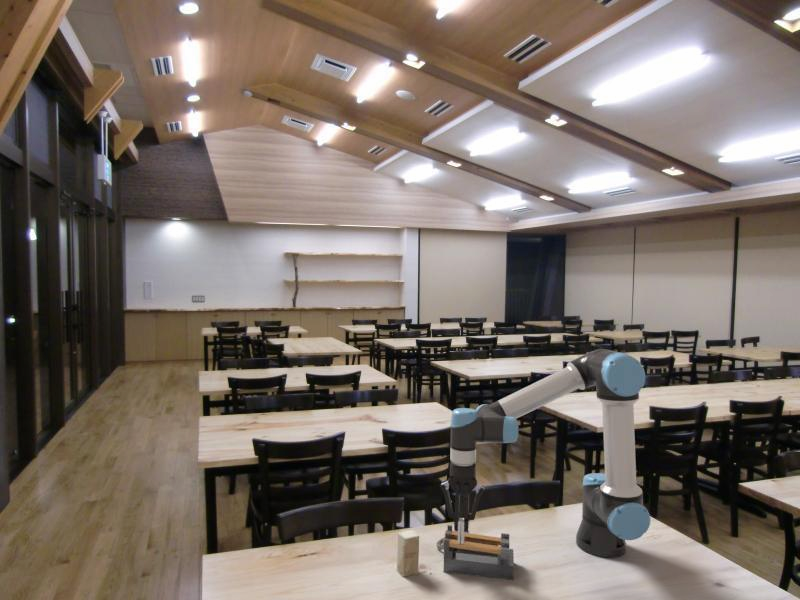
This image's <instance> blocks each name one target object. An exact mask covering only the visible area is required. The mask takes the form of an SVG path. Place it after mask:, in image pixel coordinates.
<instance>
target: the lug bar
mask: <svg viewBox="0 0 800 600" xmlns="http://www.w3.org/2000/svg"><path fill="white" fill-rule="evenodd" d="M452 525H453V524H452ZM452 525H451V524H447V529H446V530H449V531H446V530H445V532H446V538H447V539H444V549H443V559H444V558H446V559H452V557H453V552H454V548H453V547H449V539H452V538H451V531H452ZM453 540H455V539H453Z"/></svg>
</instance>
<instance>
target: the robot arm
mask: <svg viewBox="0 0 800 600" xmlns="http://www.w3.org/2000/svg"><path fill="white" fill-rule="evenodd" d="M645 372H646V371H645V369H644V367H643V365H642V363H640V361H639V360H638V359H636V358H635V357H633V356H632V355H629V354H627V353H624V352H619V351H616V350H615V351H614V350H611V349H607V348H600V349H595V350H591V351H590V352H588V353H585V354H582V355H580V356H579V357H577V358H575V359H573V360H570V361H569V362H568V363H567V364H566V367H564V368H562V369H559V370H558V371H555V372H554V373H552V374H550V375H548V376H544V378H542V379H539V380H537V381H536V382H533V383H531V384H530V385H527V386H525V387H523V388H521V389H519V390H517V391H515V392H513V393H511V394H509V395H506V396H505V397H503V398H500V399H499V400H496V401H493V402H492V403H491V404H488V403H484V404H480V405H479V406H477V407H476V409H474V408H468V407H467V408H466V407H458V408H455V409H453V411H452V412H451V417H450V418H451V421H450V450H449V451H450V455H449V456H450V457H449V458H450V462H449V477H448V479H447V481H445V482H443V481H442V482H441V483H440V490H441V492H442V493H443V496H444V503H445V506H446V512H447V517H448V518H449V519H453V524H454V530H455V531H458V544H460V542H461V544H464V536H465V532H468V531H469V527H470V526H469V525H470V524H469V521H474V520H475V517H476V514H477V510H478V507H479V504H480V500H481V497H482V495H483V494H484V491H485V486H484V485H480V484H479V483H478V480H477V478H476V475H477V474H476V470H477V467H476V466H477V464H476V462H477V443H485V444H486V443H490V444H491V443H492V444H495V443H496V444H508V443H509V444H510V443H516V442H517V440H518V438H519V423H518V420H517V419H518V418H520V417H522V416H524V415H527V414H529V413H531V412H533V411H535V410H537V409H540V408H541V407H543V406H545V405H547V404H549V403H552V402H554V401H556V400H558V399H560V398H562V397H564V396H566V395H568V394H571V393H572V392H575V391H577V390H578V389H579V390H582V391H583V390H585V389H588V388H591V387H596V389H595V391H596V392H595V394H596V398H597V399H598V400H599V401H600V402H601V403H602V404H601V405H602V406H601V407H602V408H601V410H602V426H603V427H602V429H603V431H602V432H603V453H604V454H603V455H604V456H603V458H604V459H603V460H604V473H602V472H597V473H595V472H594V473H588V474H586V475H584V476H583V479H582V480H583V481H582V485H581V486H582V506H581V507H582V512H581V513H582V515H581V516H582V518H581V521H580V525H579V527H578V530H577V533H576V535H575V543H576V545H577V547H578V548H580V550H582V551H583V552H586V553H589V554H591V555H594V556H597V557H601V558H617V557H621V556H624V555H625V554H626V552H627V542H626V541H634V540H637V539H640V538H642V537H643V535H644V534H646V533H647V532H648V531H649V528H650V525H651V515H650V513H649V511H648V509H647V508H646V507H645V505H643V504H644V499H643V497H644V495H643V489H642V488H641V487H640V486H639V485H638V484H637V465H636V464H637V463H636V439H635V437H636V436H635V414H634V413H635V411H634V410H635V408H634V404H635V403H637V401H639V399H640V392H641V390H642V389H643V387H644V385H645V382H646V373H645ZM449 489H452V491H453V492H454V511H453V505H452V500H451V495H450V491H449ZM474 489H475V497H474V500H473V501H474V502H473V505H472V508H471V513H470V494H471V493H472V492H473V491H474ZM461 495H463V503H464V504H463V513H464V514H463V517H460V504H461V503H460V502H461V501H460V500H461ZM461 524H462V527H461Z"/></svg>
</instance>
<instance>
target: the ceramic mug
mask: <svg viewBox="0 0 800 600" xmlns="http://www.w3.org/2000/svg"><path fill="white" fill-rule="evenodd" d="M461 527H462V523H461ZM452 531H455V530H454V523H453V524H452ZM456 532H458V531H456ZM465 533H470V531H469V530H468V532H465ZM444 538H445V536H444V537H442V538H440V539H438V540H437V541H436V543H435V546H436V548H437V550H439V551H444V546H443V539H444ZM455 540H458V539H455Z"/></svg>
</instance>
